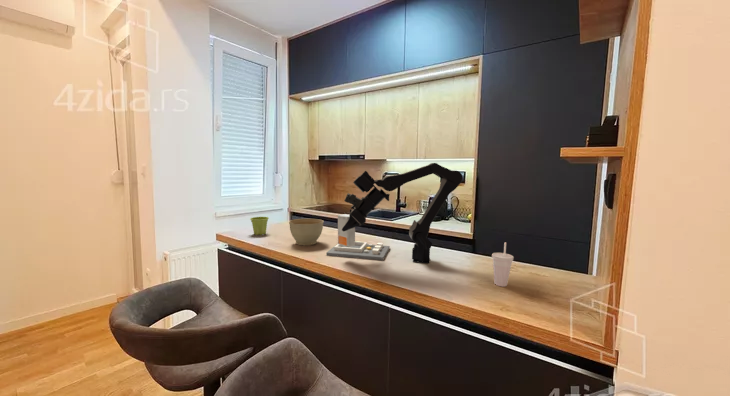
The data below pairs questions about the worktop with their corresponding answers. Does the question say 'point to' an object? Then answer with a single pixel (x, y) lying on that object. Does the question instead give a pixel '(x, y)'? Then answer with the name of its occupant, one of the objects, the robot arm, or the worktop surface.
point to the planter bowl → (306, 230)
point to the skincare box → (345, 232)
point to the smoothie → (502, 267)
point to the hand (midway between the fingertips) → (342, 228)
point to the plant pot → (259, 225)
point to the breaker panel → (360, 251)
